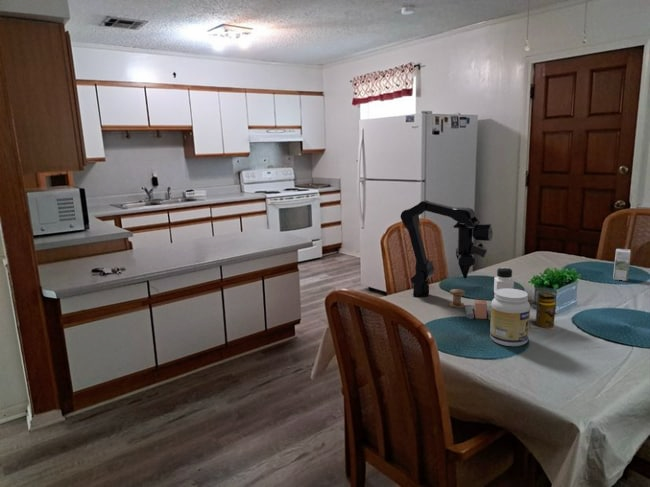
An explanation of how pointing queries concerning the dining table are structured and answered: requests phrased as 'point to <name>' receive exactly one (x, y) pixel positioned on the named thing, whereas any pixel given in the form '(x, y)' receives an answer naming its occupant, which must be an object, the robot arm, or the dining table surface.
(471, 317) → the notched board
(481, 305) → the copper brown block
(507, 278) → the medicine bottle
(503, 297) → the supplement tub
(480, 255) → the robot arm
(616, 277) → the syrup box
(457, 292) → the door knob
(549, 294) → the condiment
